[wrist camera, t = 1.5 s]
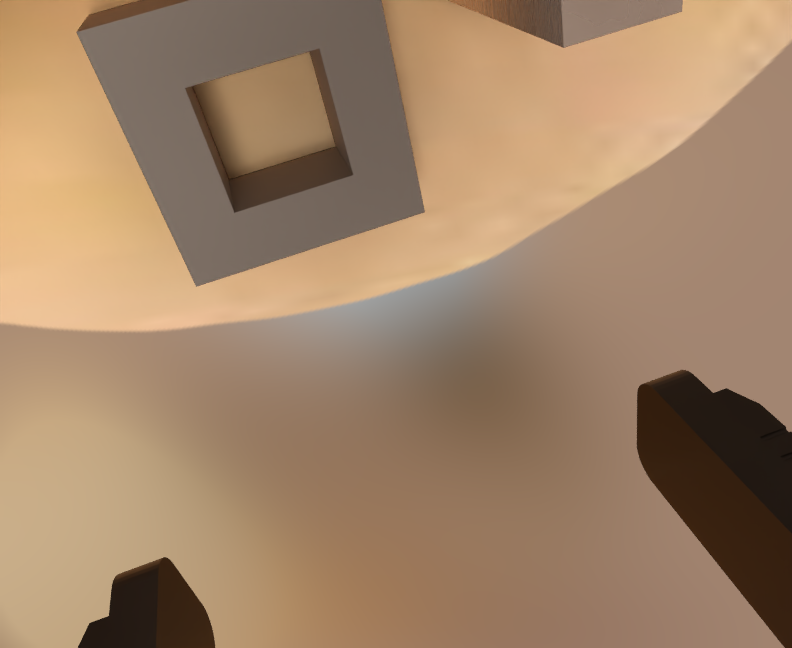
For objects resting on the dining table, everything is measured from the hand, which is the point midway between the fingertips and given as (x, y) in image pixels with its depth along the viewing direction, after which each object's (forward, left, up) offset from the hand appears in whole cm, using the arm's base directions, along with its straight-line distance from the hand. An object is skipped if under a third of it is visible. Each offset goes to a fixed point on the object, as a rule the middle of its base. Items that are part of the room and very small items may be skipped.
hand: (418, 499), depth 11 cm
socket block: (0, 0, -24) cm, 24 cm away
